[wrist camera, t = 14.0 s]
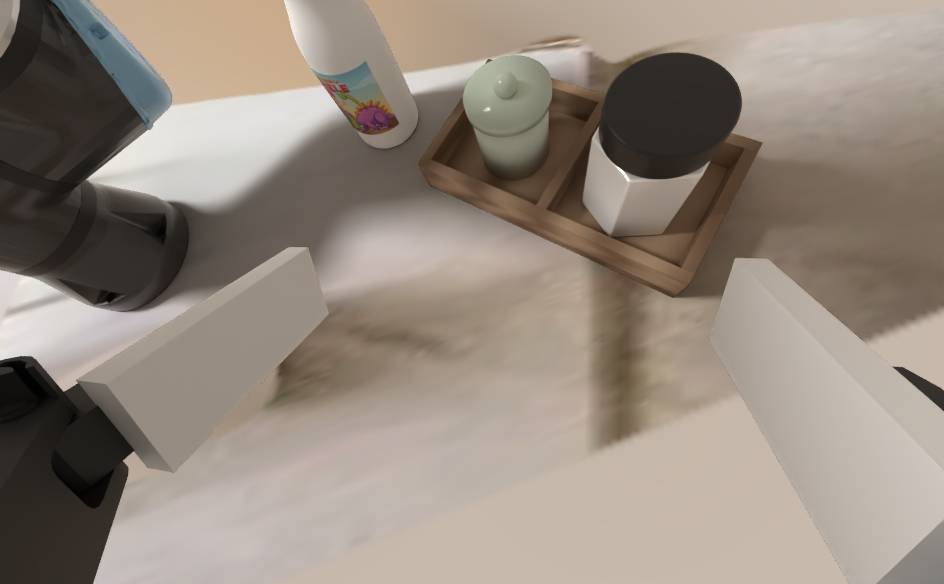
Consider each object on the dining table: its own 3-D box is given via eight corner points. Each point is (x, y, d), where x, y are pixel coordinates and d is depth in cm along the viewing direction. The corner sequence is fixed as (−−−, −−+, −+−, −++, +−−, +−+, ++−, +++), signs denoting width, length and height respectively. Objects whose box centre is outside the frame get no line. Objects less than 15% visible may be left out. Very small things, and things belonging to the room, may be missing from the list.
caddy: (430, 185, 40) (417, 163, 37) (493, 88, 42) (488, 58, 39) (672, 297, 32) (688, 284, 28) (739, 170, 34) (762, 142, 30)
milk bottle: (382, 90, 46) (265, -122, 27) (431, 107, 43) (341, -112, 25) (349, 139, 45) (204, -47, 26) (398, 159, 42) (276, -30, 24)
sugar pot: (466, 167, 39) (441, 98, 30) (502, 112, 40) (488, 29, 31) (528, 193, 37) (521, 127, 28) (565, 134, 38) (569, 51, 29)
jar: (701, 211, 33) (781, 113, 21) (622, 257, 33) (659, 185, 22) (639, 143, 36) (681, 26, 24) (567, 186, 36) (575, 90, 25)
